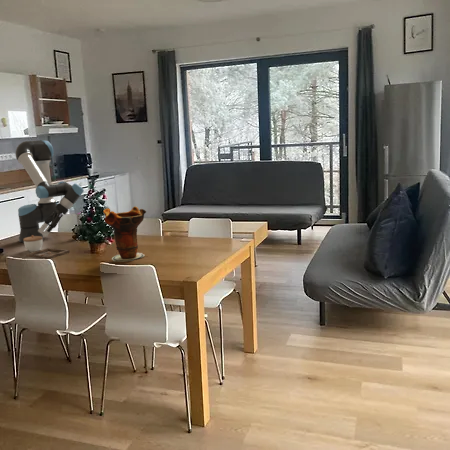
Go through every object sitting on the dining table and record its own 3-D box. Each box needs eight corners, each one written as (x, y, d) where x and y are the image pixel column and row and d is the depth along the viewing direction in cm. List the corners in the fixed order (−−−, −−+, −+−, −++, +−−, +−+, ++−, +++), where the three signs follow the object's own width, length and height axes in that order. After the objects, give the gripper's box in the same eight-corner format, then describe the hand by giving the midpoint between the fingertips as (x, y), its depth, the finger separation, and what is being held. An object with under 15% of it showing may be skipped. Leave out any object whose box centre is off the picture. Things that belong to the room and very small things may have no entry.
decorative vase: (158, 254, 269) (151, 204, 263) (121, 266, 254) (113, 212, 248) (137, 249, 284) (131, 201, 278) (101, 259, 270) (93, 209, 264)
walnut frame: (48, 249, 297) (48, 247, 296) (69, 252, 287) (69, 250, 287) (26, 256, 283) (25, 254, 283) (47, 259, 274) (47, 257, 274)
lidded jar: (28, 249, 302) (26, 234, 300) (45, 247, 303) (44, 232, 301) (22, 253, 292) (20, 237, 290) (41, 251, 292) (39, 236, 291)
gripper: (73, 212, 293) (51, 241, 289) (64, 207, 314) (42, 234, 310) (63, 204, 289) (40, 233, 285) (54, 200, 311) (32, 227, 306)
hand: (41, 234), depth 297 cm, fingers open, 13 cm apart
